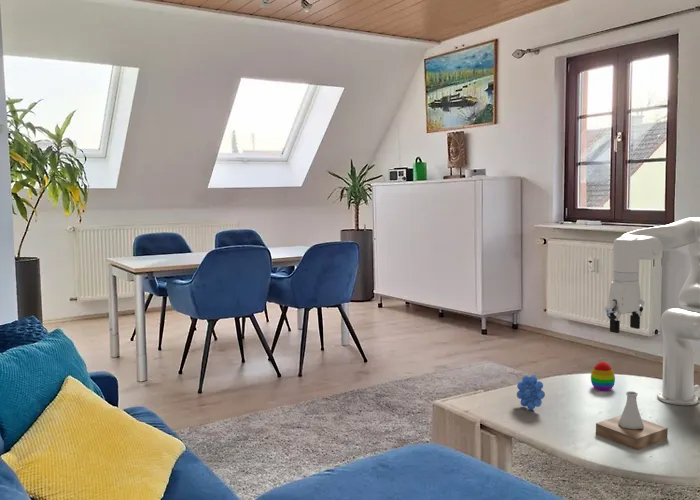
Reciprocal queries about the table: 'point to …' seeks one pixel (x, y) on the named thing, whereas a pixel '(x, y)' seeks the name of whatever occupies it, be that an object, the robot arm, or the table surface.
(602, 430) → the flat wooden block
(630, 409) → the flask
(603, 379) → the decorative egg
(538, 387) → the grapes
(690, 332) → the robot arm
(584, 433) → the table surface
